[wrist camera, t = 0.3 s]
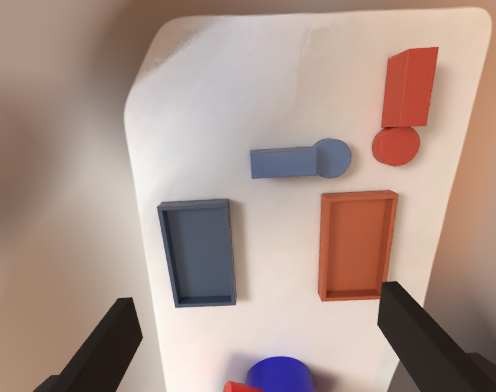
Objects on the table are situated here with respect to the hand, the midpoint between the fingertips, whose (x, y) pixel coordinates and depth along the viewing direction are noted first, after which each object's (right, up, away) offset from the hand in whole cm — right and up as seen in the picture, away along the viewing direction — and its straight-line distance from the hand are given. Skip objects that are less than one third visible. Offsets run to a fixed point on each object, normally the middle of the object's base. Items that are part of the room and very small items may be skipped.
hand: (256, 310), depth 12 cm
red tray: (+15, -1, +21) cm, 26 cm away
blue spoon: (+6, +11, +18) cm, 22 cm away
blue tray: (-7, -2, +22) cm, 23 cm away
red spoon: (+18, +16, +16) cm, 29 cm away
